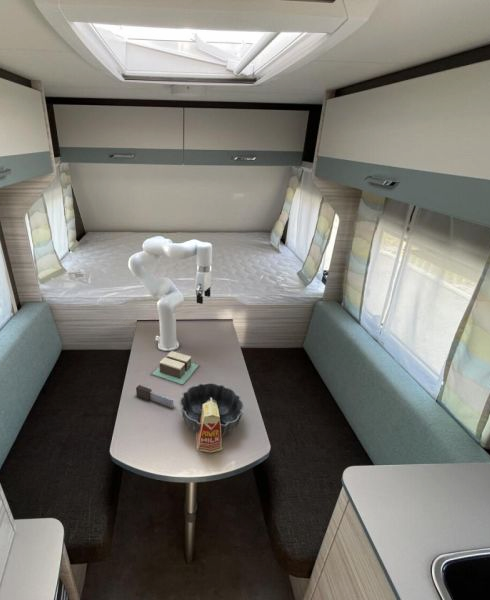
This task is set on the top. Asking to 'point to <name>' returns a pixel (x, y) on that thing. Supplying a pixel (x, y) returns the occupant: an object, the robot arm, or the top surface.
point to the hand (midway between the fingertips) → (203, 299)
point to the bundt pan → (220, 395)
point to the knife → (153, 396)
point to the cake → (175, 368)
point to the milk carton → (209, 429)
